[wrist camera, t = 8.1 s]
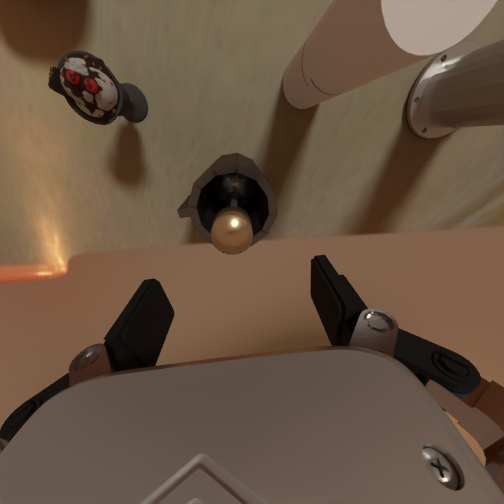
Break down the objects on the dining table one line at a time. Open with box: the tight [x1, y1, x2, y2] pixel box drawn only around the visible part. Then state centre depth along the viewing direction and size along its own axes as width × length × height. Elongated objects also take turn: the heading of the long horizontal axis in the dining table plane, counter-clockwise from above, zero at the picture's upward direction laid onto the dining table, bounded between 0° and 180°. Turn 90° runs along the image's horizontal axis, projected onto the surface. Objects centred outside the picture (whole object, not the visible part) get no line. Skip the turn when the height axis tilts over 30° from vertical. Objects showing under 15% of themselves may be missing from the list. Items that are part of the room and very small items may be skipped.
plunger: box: [211, 172, 255, 254], centre depth 28 cm, size 8×8×21 cm
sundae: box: [48, 51, 148, 125], centre depth 25 cm, size 7×7×15 cm
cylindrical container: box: [283, 0, 497, 109], centre depth 20 cm, size 7×7×25 cm
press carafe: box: [177, 153, 277, 246], centre depth 32 cm, size 13×11×16 cm
